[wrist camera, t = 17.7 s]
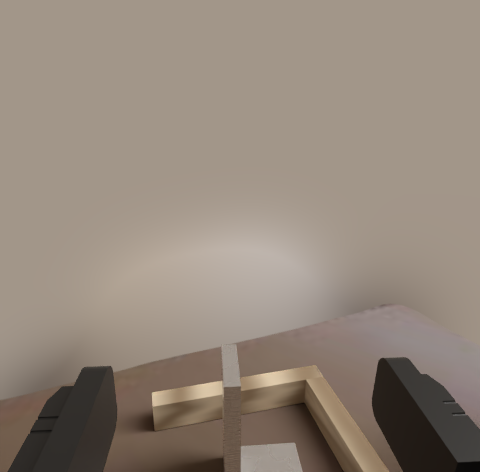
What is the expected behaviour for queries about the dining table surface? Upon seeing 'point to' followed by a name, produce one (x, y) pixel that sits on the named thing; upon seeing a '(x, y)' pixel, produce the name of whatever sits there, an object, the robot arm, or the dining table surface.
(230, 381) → the bracket
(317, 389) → the wooden l-shaped corner
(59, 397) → the robot arm
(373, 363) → the dining table surface
